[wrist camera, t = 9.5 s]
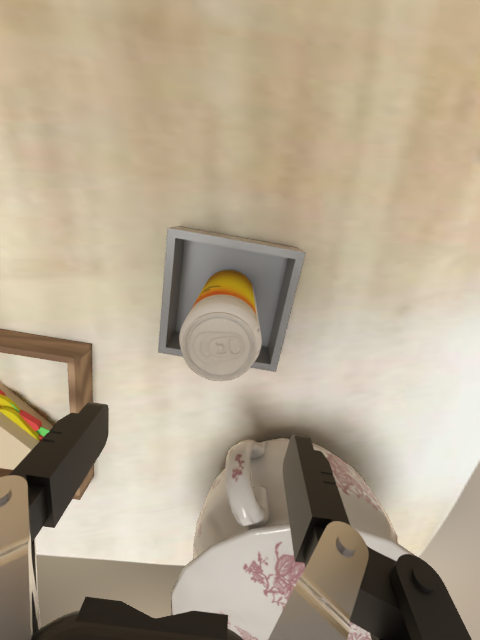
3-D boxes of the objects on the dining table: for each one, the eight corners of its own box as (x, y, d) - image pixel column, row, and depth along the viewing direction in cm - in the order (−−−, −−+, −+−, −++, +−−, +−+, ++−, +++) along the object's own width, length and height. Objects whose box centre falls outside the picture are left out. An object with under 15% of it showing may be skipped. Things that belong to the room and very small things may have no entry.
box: (179, 226, 32) (167, 227, 27) (296, 247, 32) (305, 252, 27) (169, 334, 36) (158, 352, 32) (272, 351, 37) (275, 371, 32)
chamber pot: (329, 547, 50) (382, 756, 31) (180, 514, 48) (135, 716, 29) (404, 427, 41) (549, 621, 21) (222, 380, 38) (197, 546, 19)
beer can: (200, 271, 33) (168, 311, 19) (252, 266, 32) (258, 303, 18) (207, 319, 35) (183, 389, 21) (256, 315, 34) (265, 382, 20)
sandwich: (55, 486, 47) (34, 516, 42) (-57, 421, 43) (-95, 447, 38) (105, 433, 43) (87, 460, 38) (-15, 356, 39) (-51, 375, 34)
